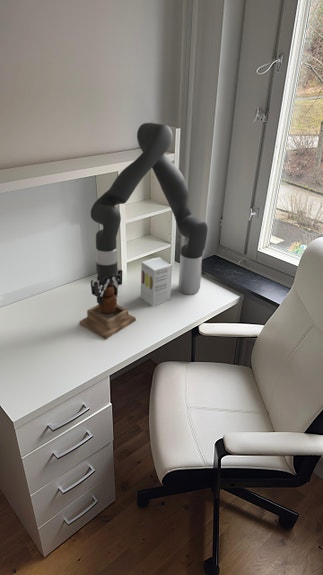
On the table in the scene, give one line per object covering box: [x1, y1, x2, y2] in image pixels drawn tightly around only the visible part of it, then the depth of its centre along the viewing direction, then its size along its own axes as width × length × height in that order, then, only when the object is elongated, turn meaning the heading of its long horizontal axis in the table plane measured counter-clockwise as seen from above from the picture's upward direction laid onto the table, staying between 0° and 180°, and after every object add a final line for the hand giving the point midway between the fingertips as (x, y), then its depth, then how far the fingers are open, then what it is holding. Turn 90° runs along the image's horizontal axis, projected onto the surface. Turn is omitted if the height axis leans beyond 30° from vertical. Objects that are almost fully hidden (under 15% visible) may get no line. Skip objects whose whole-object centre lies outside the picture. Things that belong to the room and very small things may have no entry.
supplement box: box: [140, 256, 173, 307], centre depth 170 cm, size 10×9×17 cm
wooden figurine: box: [99, 284, 118, 314], centre depth 151 cm, size 7×6×15 cm
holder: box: [79, 303, 137, 340], centre depth 156 cm, size 16×14×6 cm
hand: (107, 299), depth 152 cm, fingers closed on wooden figurine, 6 cm apart
